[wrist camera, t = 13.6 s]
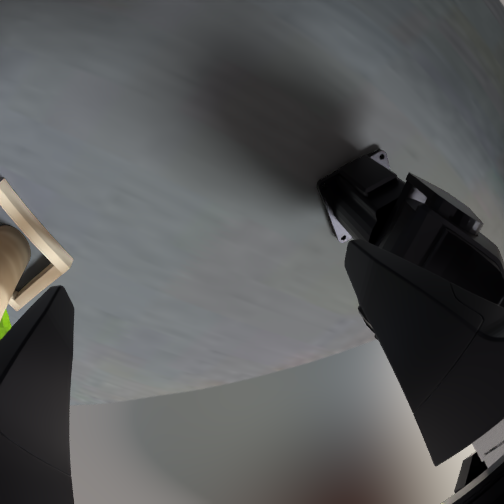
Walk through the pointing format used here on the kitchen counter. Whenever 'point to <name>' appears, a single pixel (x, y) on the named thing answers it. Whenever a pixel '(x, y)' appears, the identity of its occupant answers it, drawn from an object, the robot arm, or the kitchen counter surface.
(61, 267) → the birch collar
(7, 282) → the tall beech pin
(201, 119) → the kitchen counter surface
